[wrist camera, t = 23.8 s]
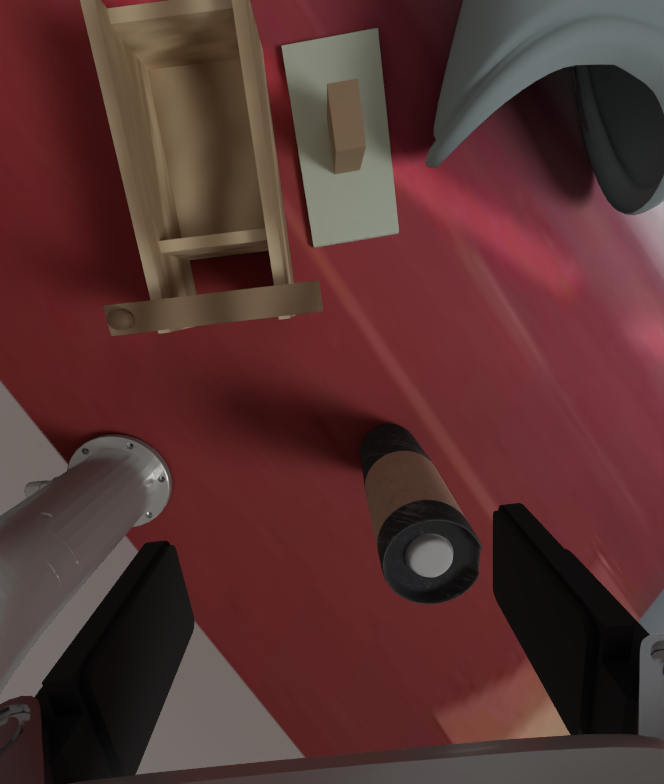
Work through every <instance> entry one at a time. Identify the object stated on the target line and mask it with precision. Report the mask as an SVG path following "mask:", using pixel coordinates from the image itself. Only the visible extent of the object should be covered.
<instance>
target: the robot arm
mask: <svg viewBox="0 0 664 784" xmlns="http://www.w3.org/2000/svg"><path fill="white" fill-rule="evenodd" d="M171 491H172V479H171V474H170V471H169V469H168V466H167V464H166V463H165V461H164V460H163V458H162V457H161V456H160V454H159V453H158V452H157V451H156V450H155V449H153V448H152V447H151V446H149V445H148V444H147V443H145V442H143V441H141V440H139V439H137V438H134V437H131V436H127V435H121V434H108V435H103V436H99V437H96V438H94V439H92V440H90V441H88V442H87V443H85V444H83V445H82V446H81V447H80V448H79V449H77V450H76V452H75V453H74V454H73V456H72V457H71V459H70V462H69V464H68V469H67V472H65V473H64V474H62V475H61V476H59V477H55V478H54V479H53V480H52V481H37V482H30V483H28V484H27V485H26V487H25V491H24V492H25V495H26V497H27V498H26V499H25V500H23V501H22V502H20V503H19V504H17V505H16V506H14V507H13V508H11V509H10V510H8V511H7V512H6V513H4V514H3V515H1V516H0V694H1V692H2V691H3V689H4V688H5V686H6V684H7V683H8V681H9V680H10V678H11V677H12V675H13V673H14V672H15V670H16V669H17V667H18V666H19V665H20V663H21V662H22V660H23V659H24V658H25V656H26V655H27V653H28V652H29V650H30V649H31V648H32V647H33V645H34V644H35V643H36V642H37V640H38V639H39V637H40V636H41V635H42V634H43V632H44V631H45V630H46V629H47V628H48V626H49V625H50V624H51V623H52V621H53V620H54V619H55V618H56V617H57V615H58V614H59V613H60V612H61V611H62V609H63V608H64V607H65V606H66V605H67V603H68V602H69V601H70V600H71V599H72V598H73V596H74V595H75V594H76V593H77V592H78V590H79V589H80V588H81V587H82V586H83V584H84V583H85V582H86V581H87V580H88V579H89V578H90V576H91V575H92V574H93V573H94V572H95V570H96V569H97V568H98V567H99V565H100V564H101V563H102V562H103V561H104V560H105V559H106V557H107V556H108V555H109V554H110V553H111V552H112V550H113V549H114V548H115V547H116V546H117V544H118V543H119V542H120V541H121V540H122V539H123V537H124V536H125V535H126V534H127V533H128V531H129V530H130V529H131V528H132V527H135V526H140V525H143V524H145V523H148V522H150V521H151V520H153V519H154V518H156V517H157V516H158V515H159V514H160V513H161V512H162V510H163V509H164V508H165V506H166V505H167V503H168V501H169V499H170V496H171ZM493 591H494V595H495V598H496V601H497V603H498V605H499V606H500V608H501V610H502V612H503V614H504V615H505V617H506V619H507V621H508V623H509V625H510V626H511V628H512V630H513V632H514V634H515V635H516V637H517V639H518V641H519V643H520V644H521V646H522V648H523V650H524V652H525V653H526V655H527V657H528V659H529V661H530V663H531V664H532V666H533V668H534V670H535V672H536V673H537V675H538V677H539V679H540V681H541V682H542V684H543V686H544V688H545V690H546V691H547V693H548V695H549V697H550V699H551V701H552V702H553V704H554V706H555V708H556V710H557V711H558V713H559V715H560V717H561V719H562V720H563V722H564V724H565V726H566V728H567V729H568V731H569V733H570V734H571V735H568V736H553V737H538V738H522V739H508V740H497V741H485V742H474V743H462V744H451V745H439V746H428V747H416V748H405V749H394V750H383V751H372V752H361V753H351V754H340V755H329V756H319V757H308V758H298V759H287V760H278V761H266V762H256V763H247V764H236V765H226V766H216V767H206V768H197V769H187V770H177V771H167V772H158V773H147V774H140V775H135V774H136V772H137V770H138V767H139V765H140V762H141V760H142V757H143V755H144V752H145V750H146V747H147V745H148V742H149V740H150V737H151V735H152V732H153V730H154V727H155V725H156V722H157V720H158V717H159V715H160V712H161V710H162V708H163V705H164V702H165V700H166V697H167V695H168V692H169V690H170V688H171V685H172V682H173V680H174V677H175V675H176V673H177V670H178V667H179V665H180V663H181V660H182V658H183V655H184V653H185V650H186V647H187V645H188V643H189V640H190V638H191V635H192V633H193V629H194V616H193V612H192V608H191V604H190V601H189V597H188V593H187V589H186V585H185V581H184V578H183V574H182V570H181V566H180V562H179V559H178V555H177V551H176V548H175V546H174V545H170V543H169V542H168V541H158V542H148V543H145V544H144V545H143V547H142V548H141V549H140V551H139V552H138V554H137V555H136V556H135V557H134V559H133V560H132V562H131V563H130V564H129V566H128V567H127V568H126V570H125V571H124V572H123V574H122V575H121V576H120V578H119V579H118V580H117V582H116V583H115V585H114V586H113V587H112V589H111V590H110V591H109V593H108V594H107V595H106V597H105V598H104V599H103V601H102V602H101V603H100V605H99V606H98V607H97V609H96V610H95V612H94V613H93V614H92V616H91V617H90V618H89V620H88V621H87V622H86V624H85V625H84V626H83V628H82V629H81V630H80V632H79V633H78V634H77V636H76V637H75V639H74V640H73V641H72V643H71V644H70V645H69V647H68V648H67V649H66V651H65V652H64V653H63V655H62V656H61V658H60V659H59V660H58V662H57V663H56V664H55V666H54V667H53V669H52V670H51V671H50V672H49V674H48V675H47V676H46V678H45V679H44V680H43V682H42V685H43V687H42V688H41V689H40V690H39V692H38V694H37V695H36V696H35V697H32V696H20V697H17V698H14V699H10V700H8V701H6V702H4V703H2V704H0V784H664V634H663V633H658V634H652V635H650V634H649V633H647V631H646V630H645V629H644V628H643V627H642V626H641V625H640V624H639V623H638V622H637V621H636V620H635V619H634V618H633V617H632V615H631V614H630V613H629V612H628V611H627V610H626V609H625V608H624V607H623V606H622V605H621V604H620V603H619V602H618V601H617V600H616V599H615V598H614V597H613V595H612V594H611V593H610V592H609V591H608V590H607V589H606V588H605V587H604V586H603V585H602V584H601V583H600V582H599V581H598V580H597V579H596V578H595V577H594V575H593V574H592V573H591V572H590V571H589V570H588V569H587V568H586V567H585V566H584V565H583V564H582V563H581V562H580V561H579V560H578V559H577V558H576V557H575V555H574V554H572V553H571V552H570V551H569V550H567V549H564V548H563V547H562V546H561V545H560V544H559V543H558V541H557V540H556V539H555V538H554V537H553V536H552V535H551V534H550V533H549V532H548V531H547V530H546V529H545V528H544V527H543V525H542V524H541V523H540V522H539V521H538V520H537V519H536V518H535V517H534V516H533V515H532V514H531V513H530V512H529V510H528V509H527V508H526V507H525V506H524V505H523V504H521V503H516V504H507V505H500V506H499V509H498V511H494V513H493Z"/></svg>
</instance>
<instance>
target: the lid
mask: <svg viewBox="0 0 664 784" xmlns="http://www.w3.org/2000/svg"><path fill="white" fill-rule="evenodd" d="M282 53H283V59H284V65H285V71H286V78H287V84H288V90H289V96H290V102H291V109H292V115H293V121H294V127H295V133H296V140H297V146H298V152H299V158H300V165H301V171H302V177H303V183H304V189H305V196H306V202H307V208H308V214H309V220H310V227H311V233H312V239H313V245H314V248H316V247H322V246H328V245H334V244H340V243H346V242H352V241H357V240H363V239H369V238H375V237H381V236H387V235H393V234H398V233H399V227H398V217H397V208H396V198H395V188H394V179H393V169H392V159H391V150H390V140H389V130H388V121H387V111H386V101H385V92H384V82H383V72H382V63H381V53H380V43H379V34H378V28H374V29H369V30H364V31H358V32H353V33H347V34H342V35H337V36H331V37H326V38H320V39H315V40H310V41H304V42H299V43H293V44H288V45H282Z"/></svg>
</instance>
